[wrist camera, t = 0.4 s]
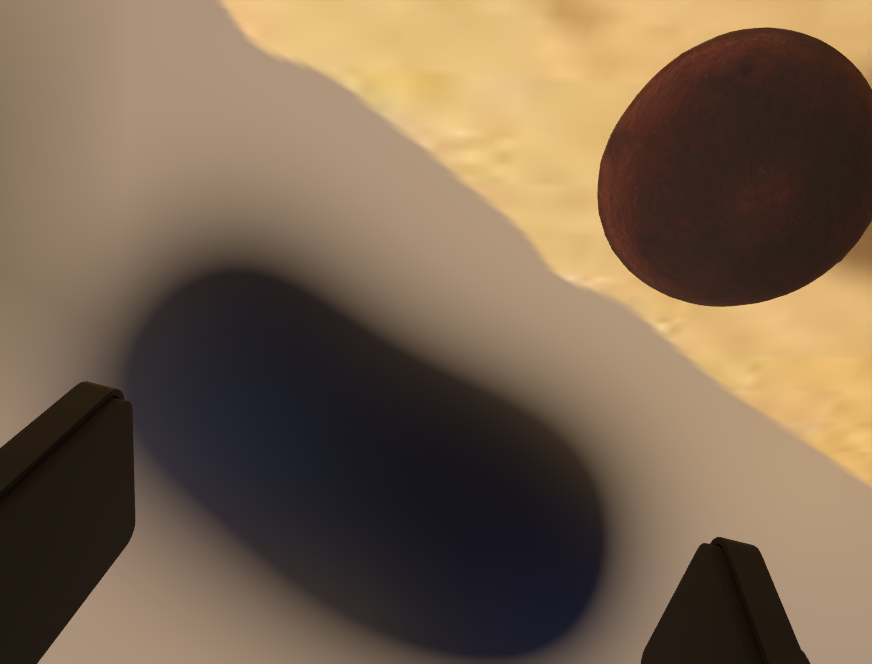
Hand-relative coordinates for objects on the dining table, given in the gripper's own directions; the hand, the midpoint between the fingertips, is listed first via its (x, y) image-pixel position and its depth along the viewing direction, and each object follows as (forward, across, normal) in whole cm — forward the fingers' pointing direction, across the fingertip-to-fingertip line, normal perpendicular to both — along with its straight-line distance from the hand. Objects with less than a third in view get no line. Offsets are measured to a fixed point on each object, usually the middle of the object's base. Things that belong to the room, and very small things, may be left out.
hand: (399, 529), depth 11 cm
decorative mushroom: (+31, -10, -3) cm, 32 cm away
